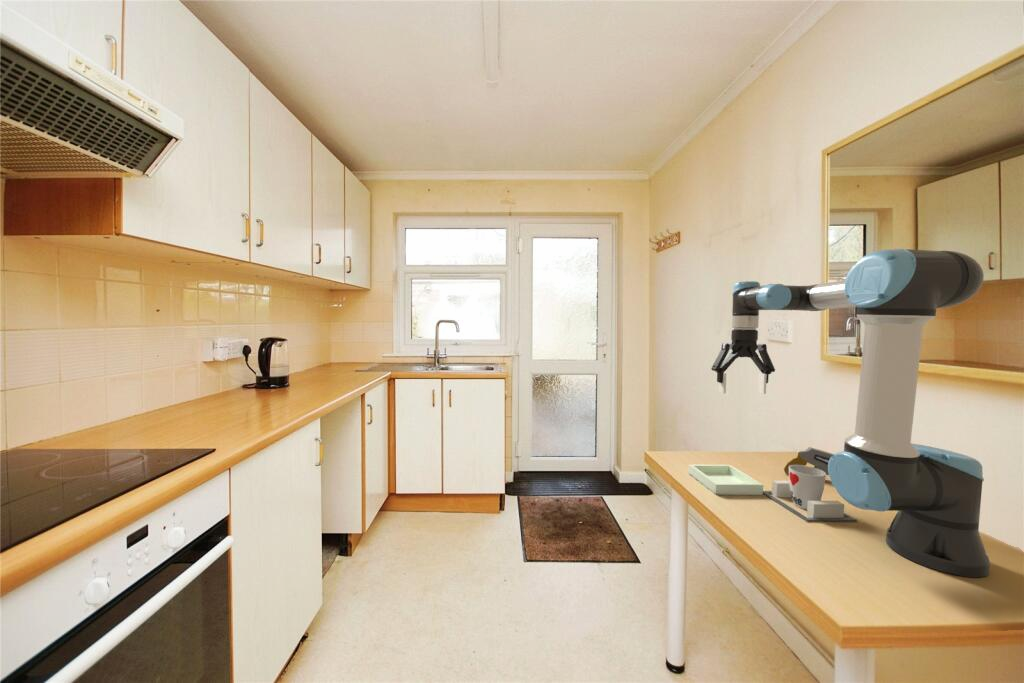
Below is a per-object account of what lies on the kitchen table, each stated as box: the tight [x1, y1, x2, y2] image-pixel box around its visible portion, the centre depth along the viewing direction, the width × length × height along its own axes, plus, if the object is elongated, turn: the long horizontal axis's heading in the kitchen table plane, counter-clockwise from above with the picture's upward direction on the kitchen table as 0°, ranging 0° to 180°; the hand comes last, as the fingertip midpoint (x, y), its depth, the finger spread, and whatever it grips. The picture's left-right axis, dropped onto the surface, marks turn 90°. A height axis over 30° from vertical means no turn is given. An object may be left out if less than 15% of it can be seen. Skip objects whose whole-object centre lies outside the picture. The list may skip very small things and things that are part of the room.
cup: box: [788, 465, 827, 511], centre depth 107 cm, size 8×8×10 cm
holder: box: [763, 480, 857, 523], centre depth 107 cm, size 17×13×4 cm
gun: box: [783, 446, 835, 477], centre depth 125 cm, size 3×25×15 cm, turn 70°
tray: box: [688, 464, 764, 496], centre depth 121 cm, size 16×14×3 cm
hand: (742, 392), depth 130 cm, fingers open, 13 cm apart
